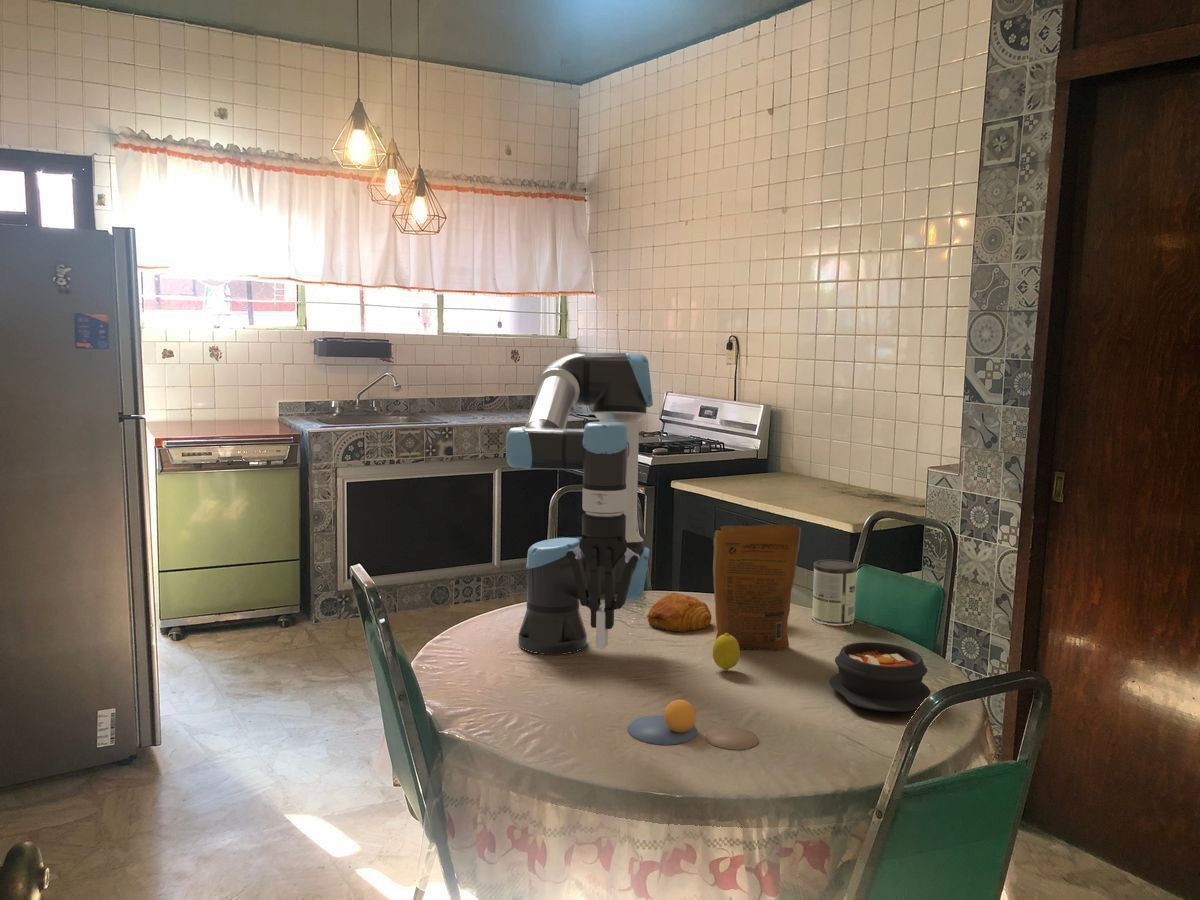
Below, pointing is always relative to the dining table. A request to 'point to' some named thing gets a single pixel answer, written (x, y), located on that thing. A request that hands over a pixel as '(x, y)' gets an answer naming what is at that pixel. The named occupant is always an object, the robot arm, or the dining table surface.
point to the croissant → (679, 613)
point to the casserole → (880, 677)
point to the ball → (680, 716)
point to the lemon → (726, 651)
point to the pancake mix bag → (755, 583)
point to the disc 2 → (732, 738)
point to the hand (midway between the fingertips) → (601, 646)
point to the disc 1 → (658, 731)
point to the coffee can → (834, 591)
